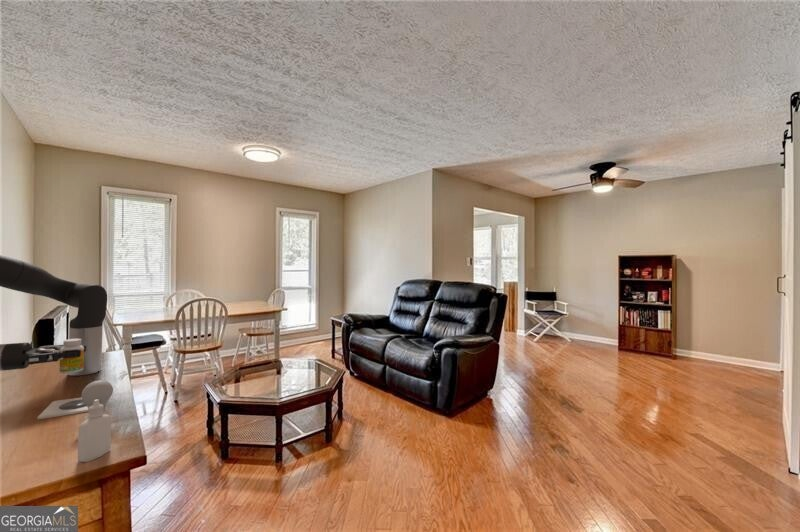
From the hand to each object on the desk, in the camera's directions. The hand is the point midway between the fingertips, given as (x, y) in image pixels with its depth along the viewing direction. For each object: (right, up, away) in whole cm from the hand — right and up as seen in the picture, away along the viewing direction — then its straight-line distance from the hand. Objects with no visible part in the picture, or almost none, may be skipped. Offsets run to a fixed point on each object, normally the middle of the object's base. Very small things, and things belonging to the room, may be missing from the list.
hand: (83, 350), depth 106 cm
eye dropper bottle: (+34, -15, -33) cm, 49 cm away
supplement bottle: (-2, -6, -1) cm, 7 cm away
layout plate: (+7, -14, -9) cm, 18 cm away
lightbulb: (+21, -14, -19) cm, 32 cm away
